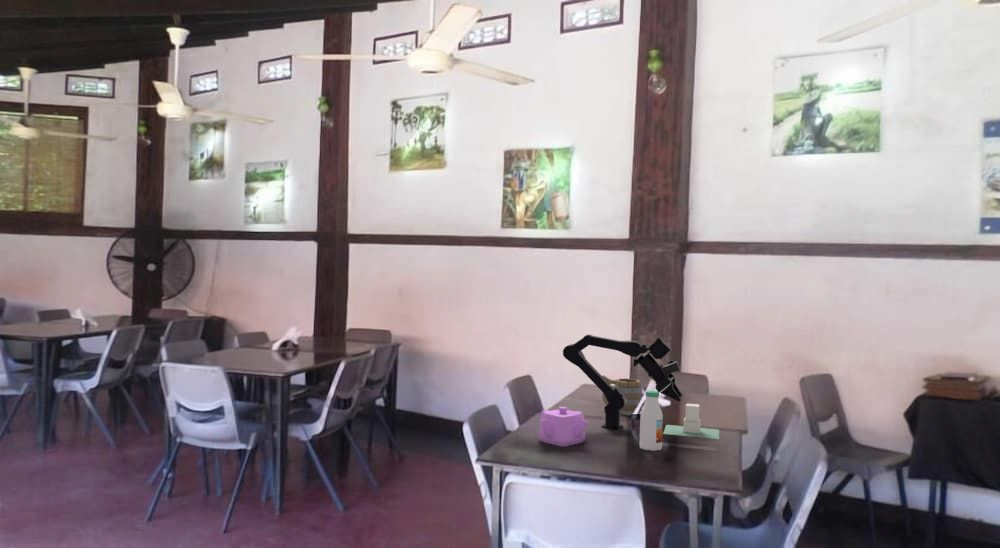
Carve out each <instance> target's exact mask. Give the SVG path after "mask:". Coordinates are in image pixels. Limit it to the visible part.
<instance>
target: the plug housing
mask: <svg viewBox="0 0 1000 548" xmlns="http://www.w3.org/2000/svg"><path fill="white" fill-rule="evenodd" d="M682 426H683V432H689V433H700V428H701V419H700V404H699V403H698V404H697V403H685V416H684V417H683V425H682Z"/></svg>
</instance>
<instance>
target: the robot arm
mask: <svg viewBox="0 0 1000 548" xmlns="http://www.w3.org/2000/svg"><path fill="white" fill-rule="evenodd" d="M588 346H593V347H596V348H597V347H598V348H602V349H607V350H614V351H618V352H620V353H622V354H624V355H627V356H629V357H633V367H636V366H638V365H639V366H640V367H641V368H642V369H643V370H644V372H646V373H647V376H648V377H649V378H651V379H652V380H653V382H655V391H658V392H659V394H661V395H664V396H666V397H668V398H670V399H673V400H675V401H677V402H681V401H682V400H681V397H683V394H682V393H681V391H680V389H679V387H678V386H677V384H676V376H675V374H674V372H679V371H680V370H681V367H680V365H679V363H678V361H677V360H676V361H674V359H670V360H668V364H666V365H663V364H661V363H659V362H658V361H657V360H661V361H662V359H664V358H665V357H667V355H668V354H669V353H670V352H672V350H673V349H672V347H670V345H669V344H668V343H667V342H665V341H664V340H663V339H662V338H661V337H658V338H656V340H655V341H654V342H653V343H652V344H650V345H647V344H642V343H641V342H640V341H639V340H616V339H611V338H607V337H601V336H597V335H592V334H586V335H584V336H583V337H582V338H581V339H579V340H578V341H577V342H575V343H570V344H568V345H566V346H564V348H563V350H562V355H563V358H564V359H566V360H567V361H568V362H570V363H572V364H573V365H574V366H576V367H578V368H579V369H580V370H581V371H582V372H583V374H585V376H586V377H587V378H588V379H590V380H591V382H593V384H594V385H595V386H596V387H597V388H598V389H599V390H600V391H601V392H602V394H603V393H604V395H605V397H606V399H607V401H608V402H609V403H608V404H607V405H605V406H604V409H603V410H604V413H605V421H604V423H605V424H602V425H601V428H606V429H612V430H619V429H621V428H623V427H624V425H623V424H621V414H620V411H619V410H620V409H621V408H623V406H624V405H625V404H626V401H627V398H626V396H625V392H623V391H622V390H621V389H620V388H619V386H617V387H616V388H615V387H614V385H612V384H611V385H610V384H609V383H608V382H607V381H606V380H605V379H604V378H603V377H602V376H603V375H601V373H600V372H599V371H598V370H597V369H595V367H594V366H593V365H592V364H591V363H590V362H589V361H588V359H586V357H585V354H584V353H583V350H585V349H586V348H587V347H588ZM647 352H648V353H647ZM644 354H645V355H644ZM636 357H637V358H636Z"/></svg>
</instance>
